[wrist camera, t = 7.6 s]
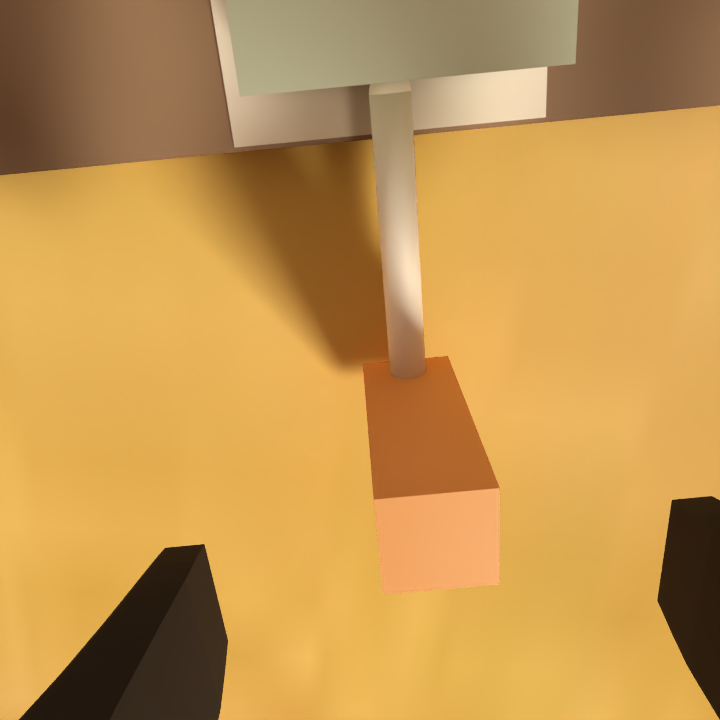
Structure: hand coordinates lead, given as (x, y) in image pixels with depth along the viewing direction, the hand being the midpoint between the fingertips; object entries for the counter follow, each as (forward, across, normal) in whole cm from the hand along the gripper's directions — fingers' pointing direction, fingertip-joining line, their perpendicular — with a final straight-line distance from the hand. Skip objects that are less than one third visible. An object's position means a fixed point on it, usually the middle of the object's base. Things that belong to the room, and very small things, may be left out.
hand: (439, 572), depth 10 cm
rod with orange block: (+6, 0, -6) cm, 8 cm away
